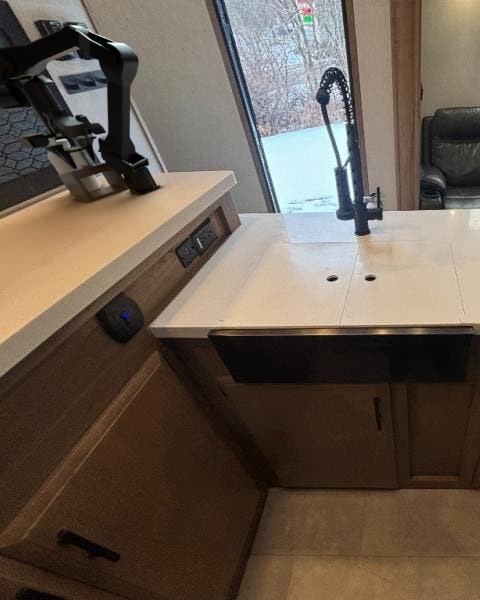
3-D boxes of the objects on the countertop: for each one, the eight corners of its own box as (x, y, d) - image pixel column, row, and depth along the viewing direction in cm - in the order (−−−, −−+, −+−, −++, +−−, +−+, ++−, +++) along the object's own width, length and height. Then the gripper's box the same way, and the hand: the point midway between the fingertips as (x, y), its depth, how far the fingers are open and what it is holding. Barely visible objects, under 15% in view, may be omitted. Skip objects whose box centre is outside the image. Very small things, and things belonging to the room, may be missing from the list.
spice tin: (91, 166, 100) (77, 145, 96) (101, 167, 98) (88, 146, 94) (72, 171, 96) (58, 150, 92) (83, 172, 94) (68, 151, 91)
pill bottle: (106, 187, 106) (75, 138, 97) (78, 195, 101) (42, 144, 92) (96, 184, 110) (65, 136, 101) (68, 192, 105) (33, 142, 96)
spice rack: (75, 199, 99) (54, 170, 93) (114, 186, 107) (97, 159, 102) (90, 201, 96) (70, 172, 91) (129, 188, 105) (113, 160, 99)
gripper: (19, 112, 77) (65, 178, 87) (100, 100, 91) (132, 158, 100) (-4, 112, 81) (43, 175, 91) (77, 101, 94) (110, 157, 104)
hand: (85, 166), depth 97 cm, fingers closed on spice tin, 5 cm apart
